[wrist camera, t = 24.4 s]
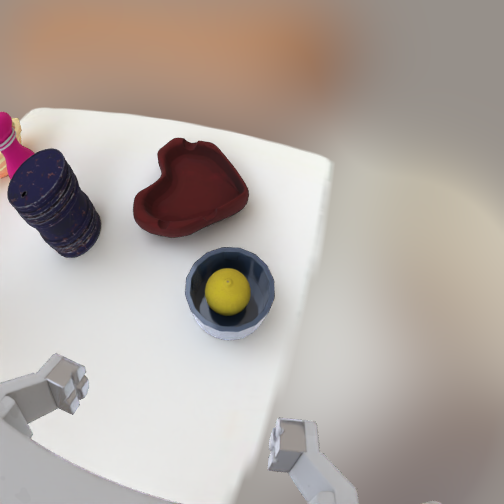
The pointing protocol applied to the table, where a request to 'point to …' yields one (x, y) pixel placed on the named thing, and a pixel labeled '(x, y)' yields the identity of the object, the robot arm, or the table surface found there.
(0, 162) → the potted cactus
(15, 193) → the dark blue barrel
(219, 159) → the ashtray
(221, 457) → the table surface
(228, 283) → the lemon
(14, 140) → the pepper mill
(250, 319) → the cup
